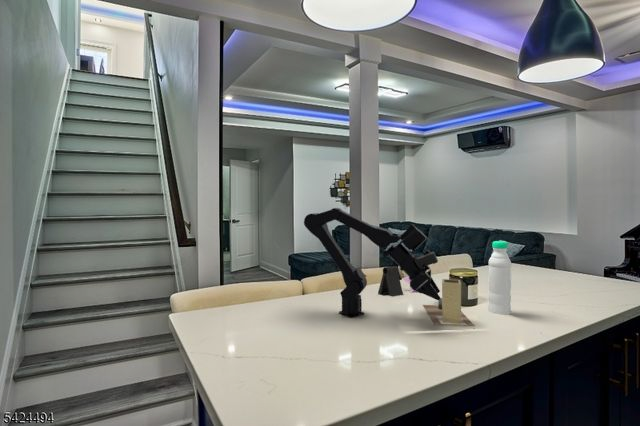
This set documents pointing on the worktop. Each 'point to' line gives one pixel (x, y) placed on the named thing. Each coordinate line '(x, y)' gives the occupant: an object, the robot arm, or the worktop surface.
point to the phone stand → (390, 282)
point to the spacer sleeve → (451, 301)
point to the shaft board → (436, 315)
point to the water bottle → (499, 279)
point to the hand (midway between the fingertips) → (439, 295)
